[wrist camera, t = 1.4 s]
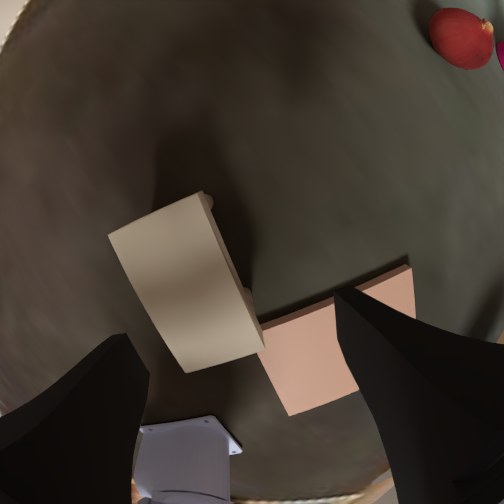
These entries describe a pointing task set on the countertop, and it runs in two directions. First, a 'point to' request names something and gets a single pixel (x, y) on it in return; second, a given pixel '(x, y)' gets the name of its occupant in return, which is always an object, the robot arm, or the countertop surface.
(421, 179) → the countertop surface
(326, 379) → the board
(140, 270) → the stool
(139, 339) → the countertop surface
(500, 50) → the pepper mill
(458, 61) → the pomegranate
